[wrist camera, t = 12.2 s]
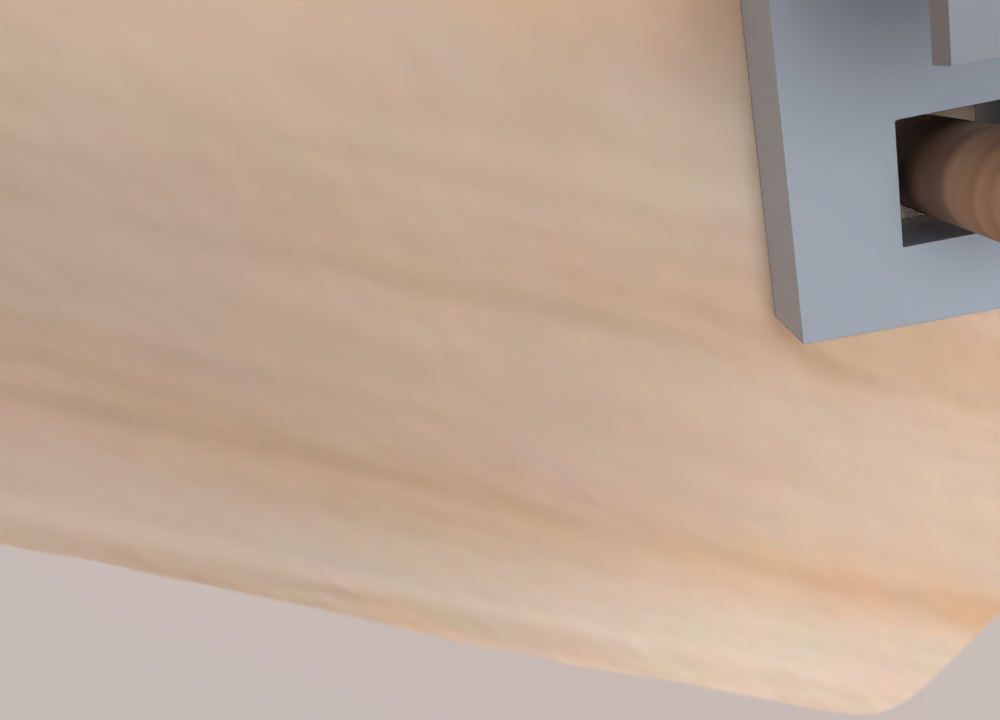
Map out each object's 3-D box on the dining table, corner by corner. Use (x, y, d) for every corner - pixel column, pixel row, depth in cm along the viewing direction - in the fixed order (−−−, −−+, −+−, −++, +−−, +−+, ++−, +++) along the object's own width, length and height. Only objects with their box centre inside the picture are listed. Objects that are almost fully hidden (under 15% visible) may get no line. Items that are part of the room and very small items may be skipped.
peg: (872, 212, 43) (1055, 291, 29) (866, 123, 42) (1054, 159, 28) (962, 195, 43) (1190, 267, 29) (958, 105, 42) (1195, 133, 28)
